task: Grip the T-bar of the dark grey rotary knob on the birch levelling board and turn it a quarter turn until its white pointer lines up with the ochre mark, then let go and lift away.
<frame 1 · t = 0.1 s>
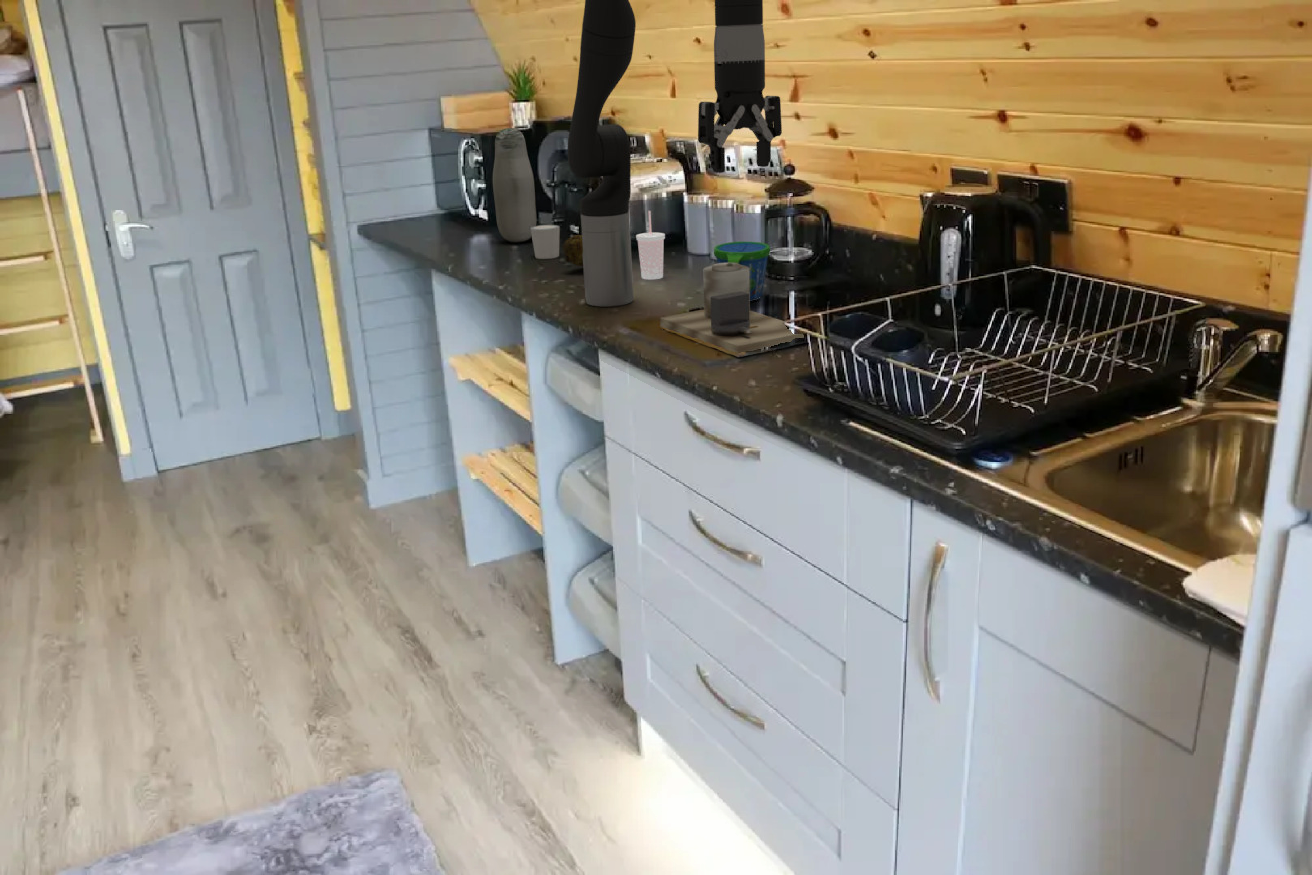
hand: (741, 169, 171), 29 cm above the worktop, fingers open, 8 cm apart
snack cup: (742, 300, 215), on the worktop
white tapered cup: (547, 257, 264), on the worktop
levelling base: (734, 335, 190), on the worktop
dark grey rotary knob: (733, 314, 182), point 5 cm above the worktop, hinge at 0.0°
beverage cup: (652, 278, 237), on the worktop
grey bottle: (518, 242, 284), on the worktop
potato: (592, 270, 247), on the worktop
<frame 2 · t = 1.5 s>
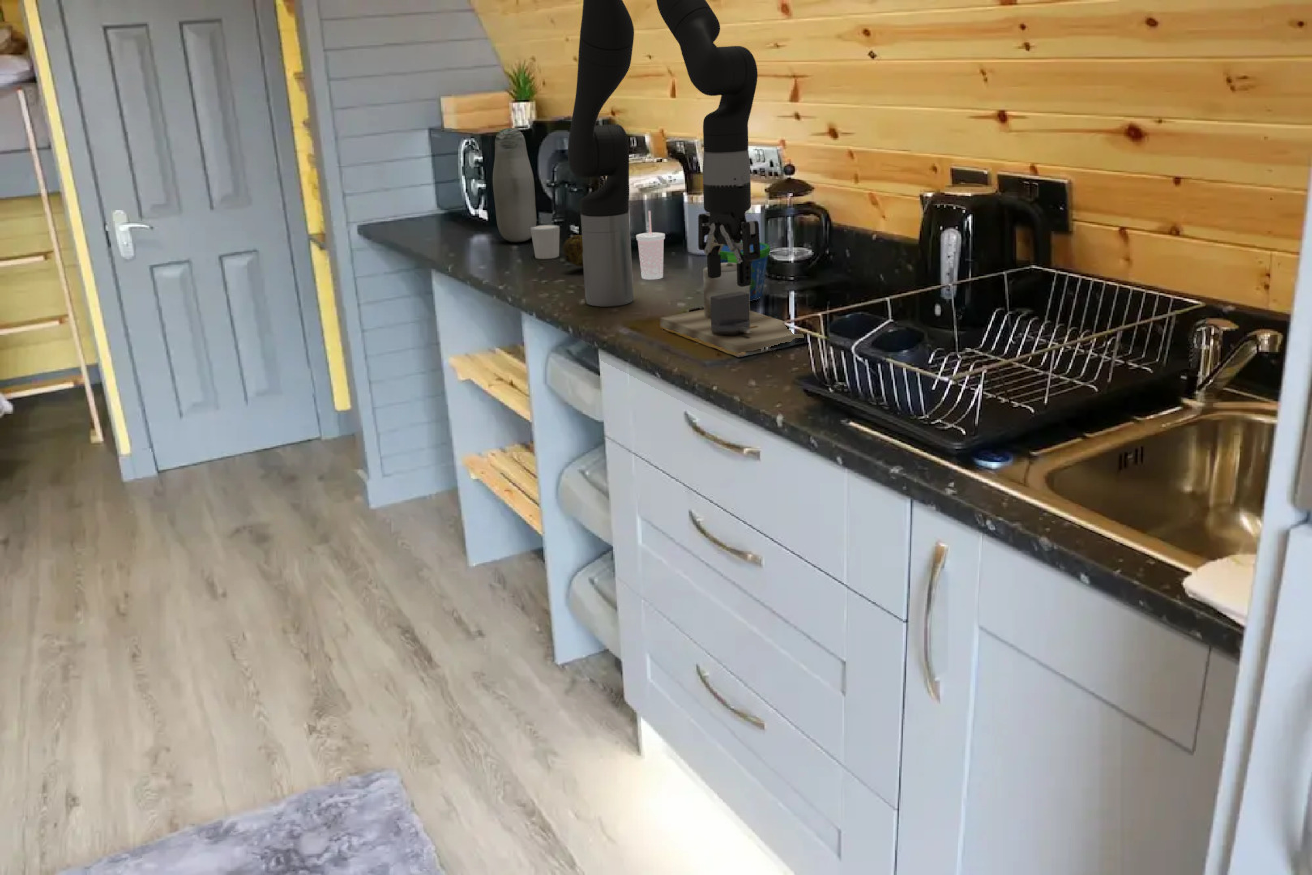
hand: (729, 281, 181), 11 cm above the worktop, fingers open, 8 cm apart
nothing on the worktop moved.
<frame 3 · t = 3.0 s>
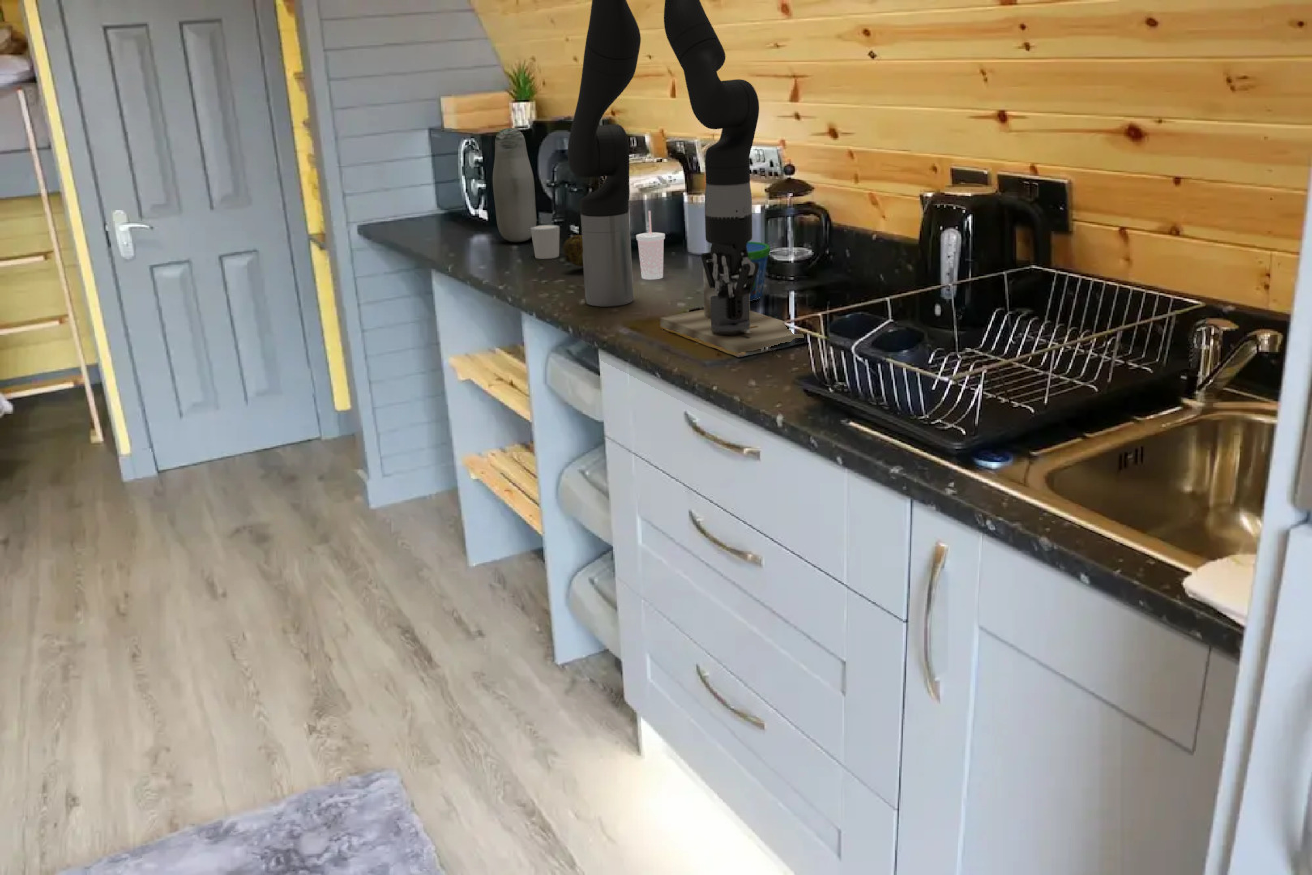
hand: (730, 316, 183), 5 cm above the worktop, fingers closed on dark grey rotary knob, 2 cm apart
dark grey rotary knob: (733, 314, 182), point 5 cm above the worktop, hinge at 0.0°, touching gripper
everything else where it was.
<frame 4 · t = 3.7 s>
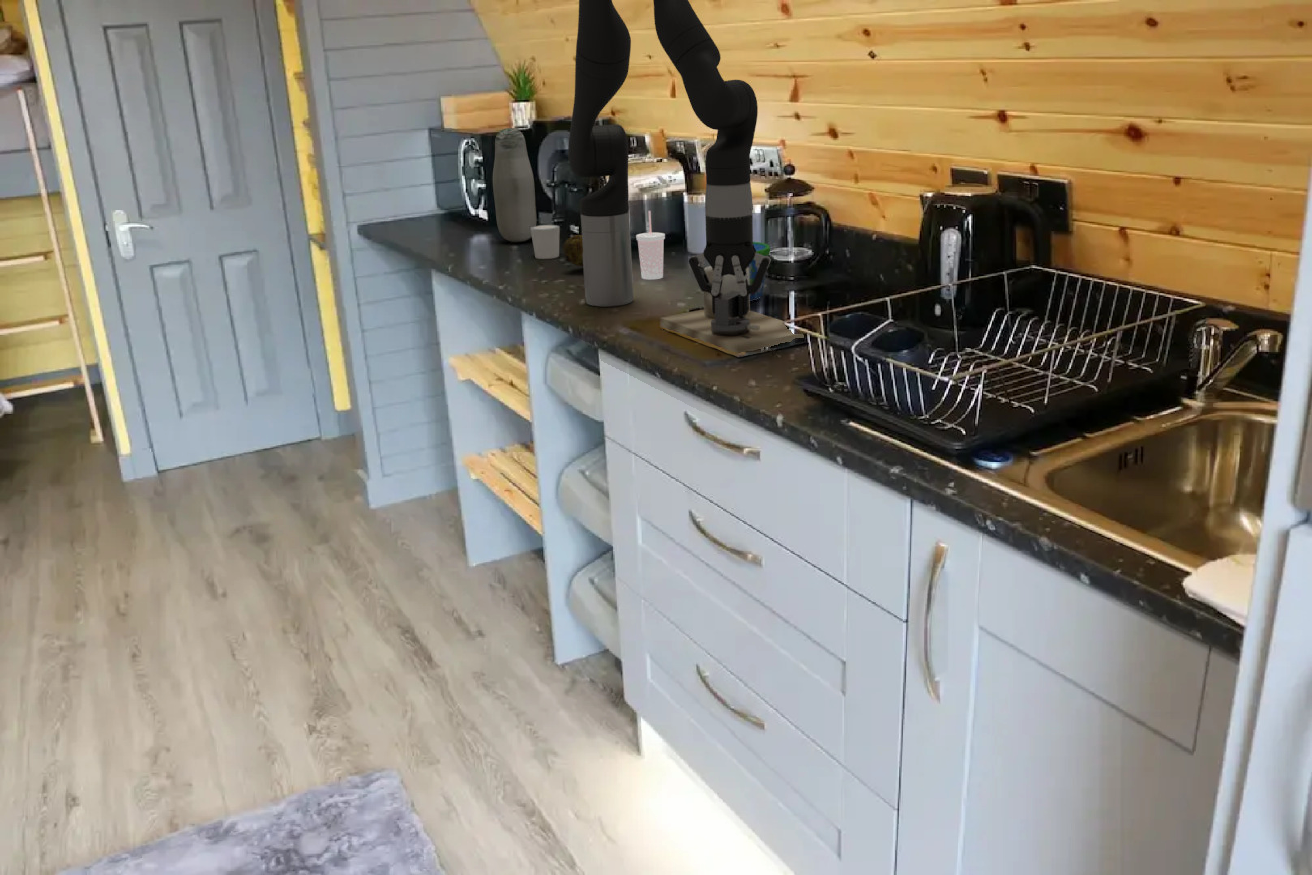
hand: (731, 316, 184), 5 cm above the worktop, fingers closed on dark grey rotary knob, 3 cm apart
dark grey rotary knob: (735, 313, 183), point 5 cm above the worktop, hinge at 28.1°, touching gripper
everything else where it was.
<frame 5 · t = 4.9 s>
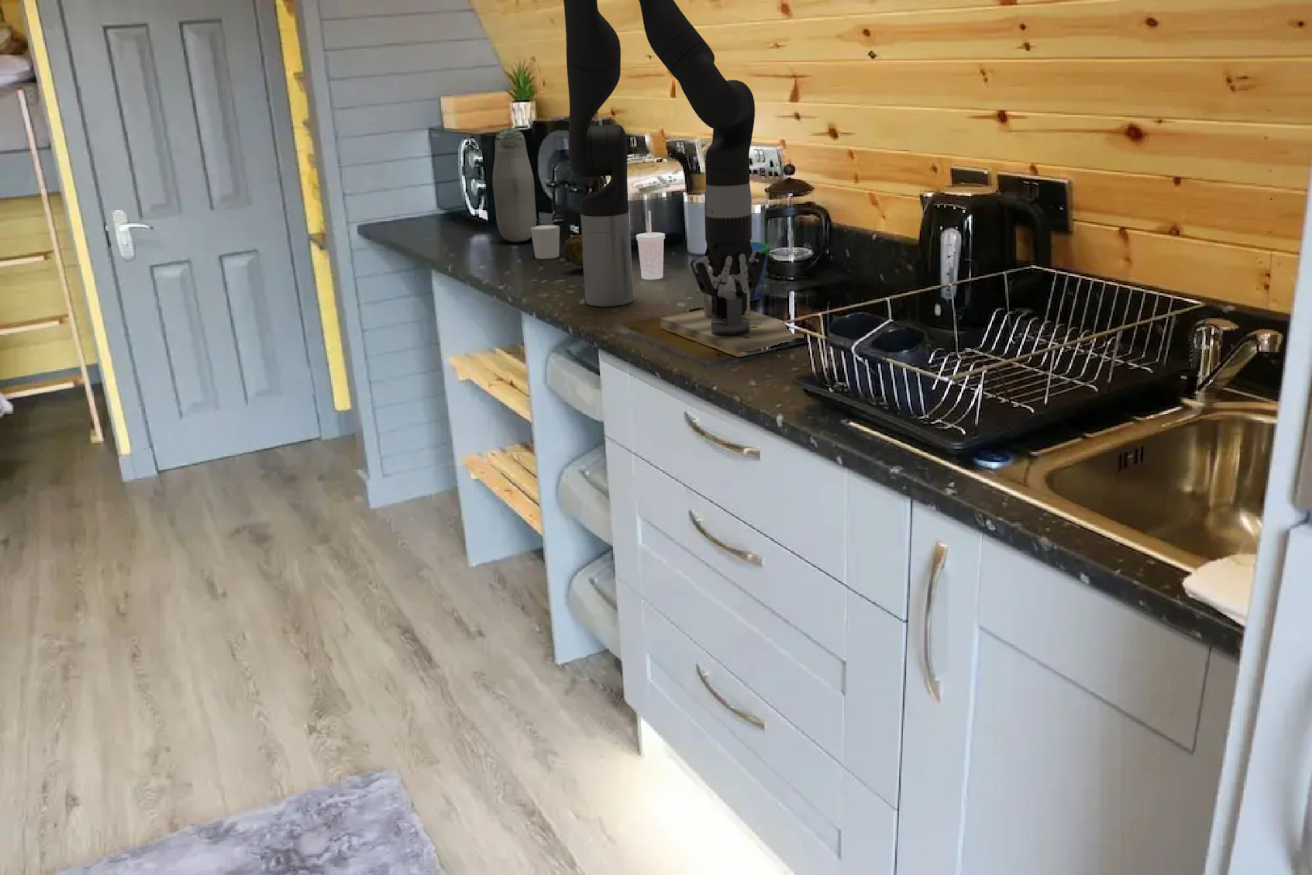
hand: (729, 316, 184), 5 cm above the worktop, fingers closed on dark grey rotary knob, 3 cm apart
dark grey rotary knob: (736, 312, 183), point 5 cm above the worktop, hinge at 69.4°, touching gripper
everything else where it was.
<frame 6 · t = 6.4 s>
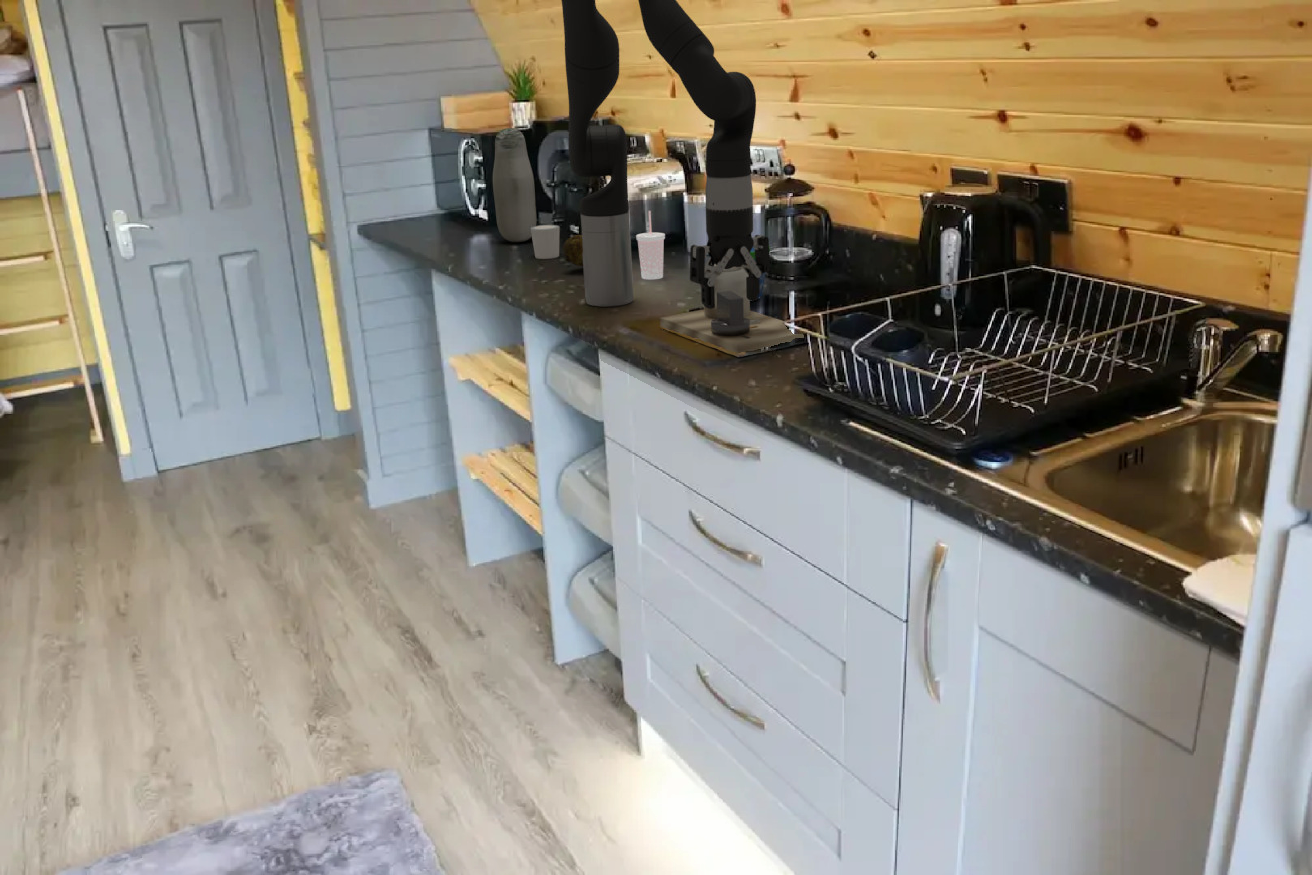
hand: (731, 303, 183), 7 cm above the worktop, fingers open, 8 cm apart
dark grey rotary knob: (735, 312, 183), point 5 cm above the worktop, hinge at 75.8°
everything else where it was.
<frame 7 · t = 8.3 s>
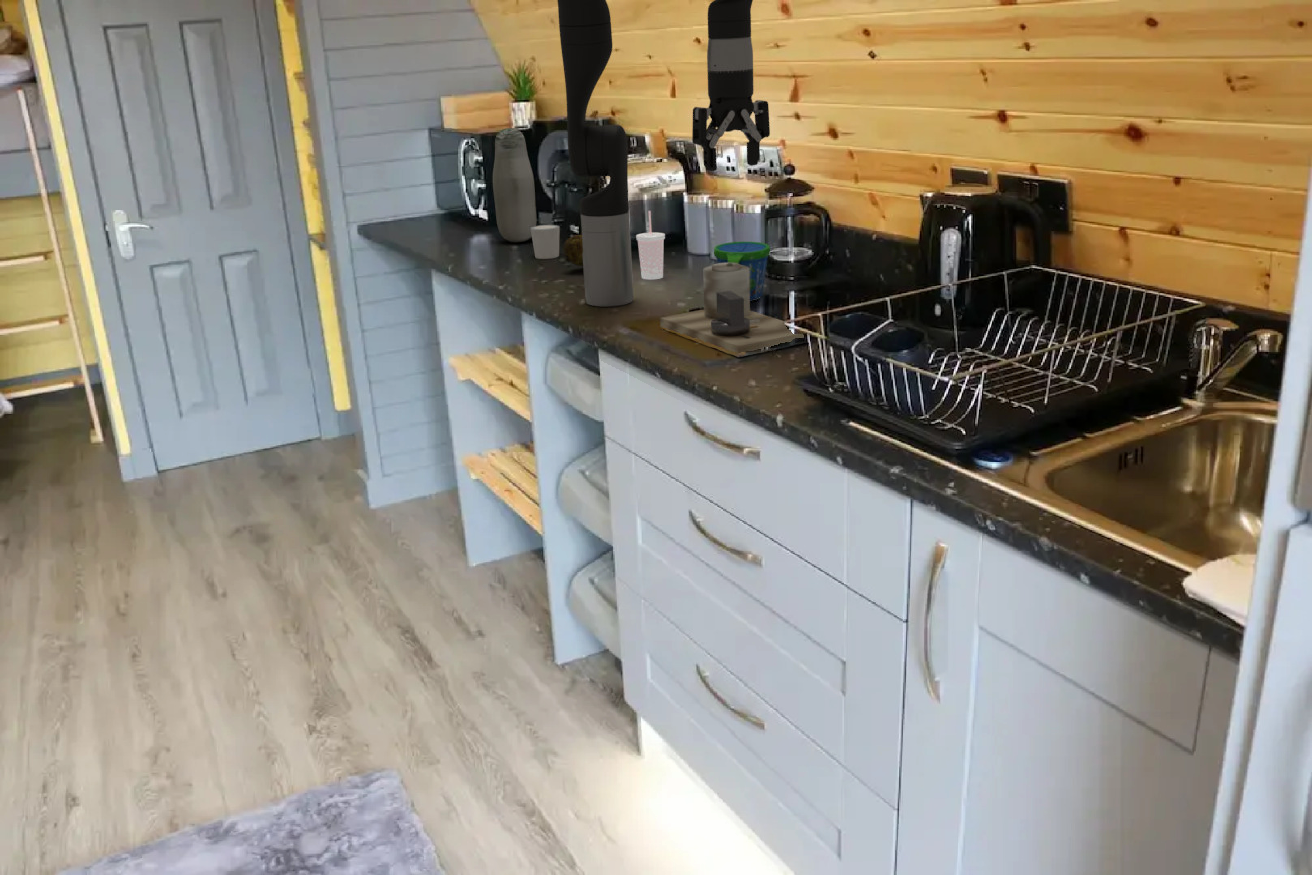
hand: (732, 167, 189), 27 cm above the worktop, fingers open, 8 cm apart
dark grey rotary knob: (735, 312, 183), point 5 cm above the worktop, hinge at 77.2°
everything else where it was.
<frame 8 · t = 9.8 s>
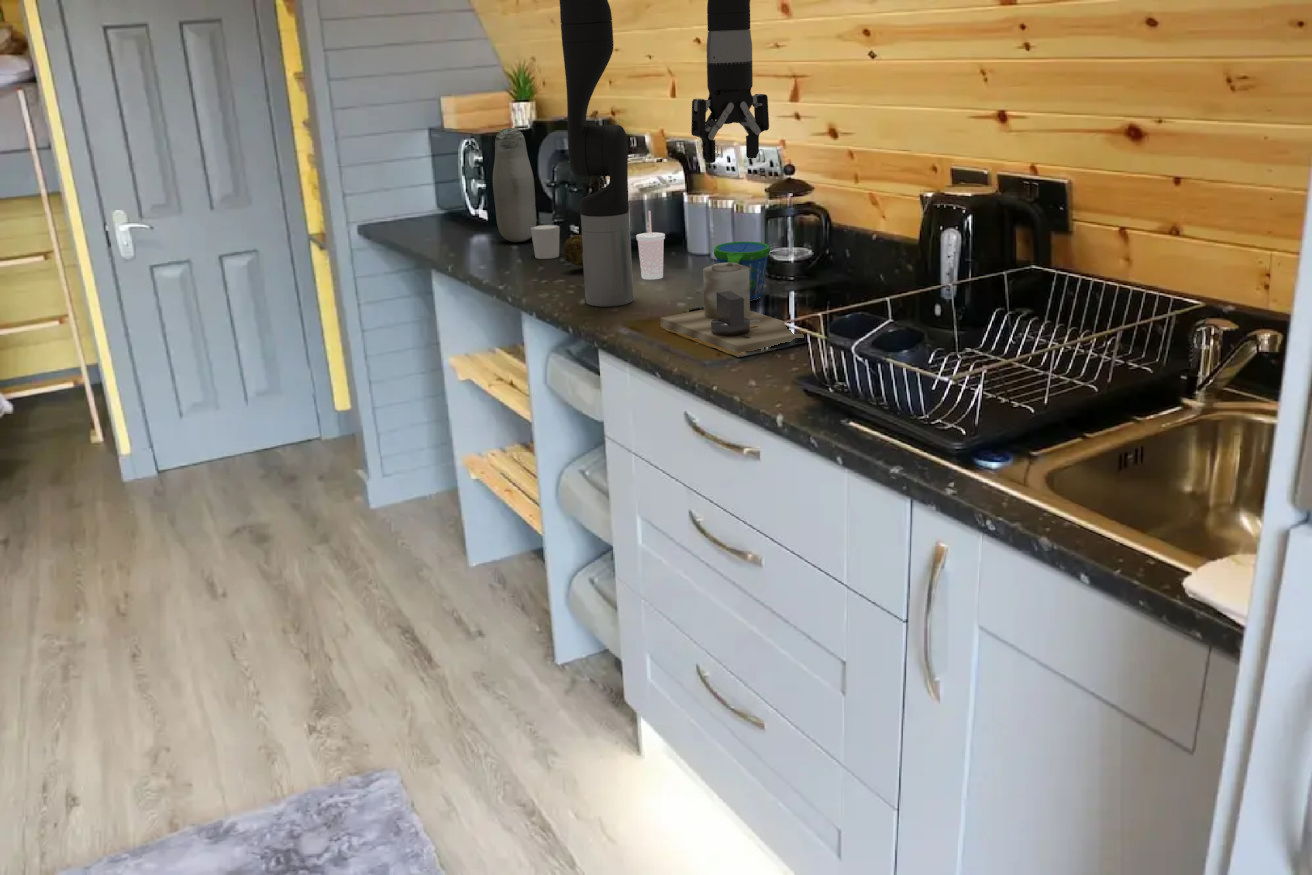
hand: (731, 160, 189), 28 cm above the worktop, fingers open, 8 cm apart
nothing on the worktop moved.
at the end: dark grey rotary knob at +77° (first picture: +0°); the gripper is holding nothing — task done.
